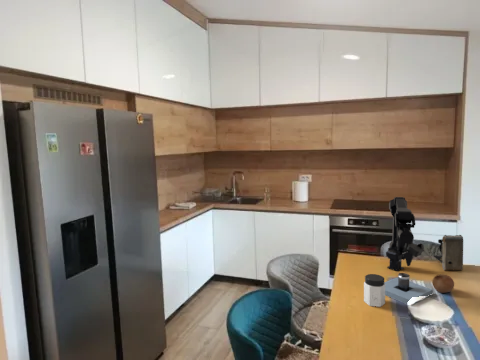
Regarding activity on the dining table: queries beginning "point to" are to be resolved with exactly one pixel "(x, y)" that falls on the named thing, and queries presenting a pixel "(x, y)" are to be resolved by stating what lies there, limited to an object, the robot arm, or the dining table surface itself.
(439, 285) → the onion
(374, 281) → the jar
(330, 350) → the dining table surface
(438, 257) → the vintage camera
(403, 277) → the lens
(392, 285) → the mount block
